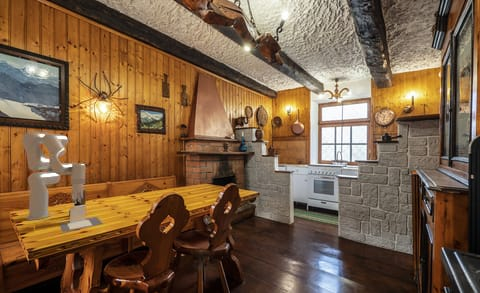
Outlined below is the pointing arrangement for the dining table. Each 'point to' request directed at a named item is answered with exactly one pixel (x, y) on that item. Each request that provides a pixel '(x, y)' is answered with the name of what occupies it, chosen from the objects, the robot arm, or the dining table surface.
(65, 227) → the mat
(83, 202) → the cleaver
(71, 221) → the deck
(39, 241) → the dining table surface
